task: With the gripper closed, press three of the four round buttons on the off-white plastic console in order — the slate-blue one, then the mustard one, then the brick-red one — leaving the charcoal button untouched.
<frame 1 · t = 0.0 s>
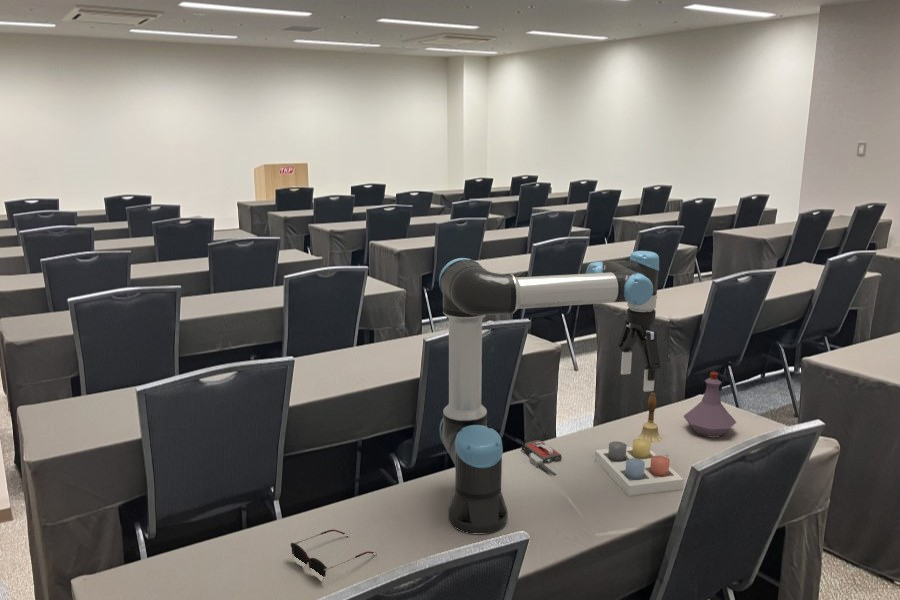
hand: (636, 382, 210), 28 cm above the table, fingers open, 13 cm apart
hand bell: (649, 441, 239), on the table
button brick: (659, 466, 210), point 6 cm above the table, slide at 0.0 cm
console: (636, 477, 215), on the table
walkie-talkie: (545, 463, 225), on the table
button charcoal: (617, 451, 218), point 6 cm above the table, slide at 0.0 cm
button slate: (634, 469, 208), point 6 cm above the table, slide at 0.0 cm
flask: (708, 431, 245), on the table
sunglasses: (336, 560, 177), on the table
button mustard: (641, 448, 220), point 6 cm above the table, slide at 0.0 cm
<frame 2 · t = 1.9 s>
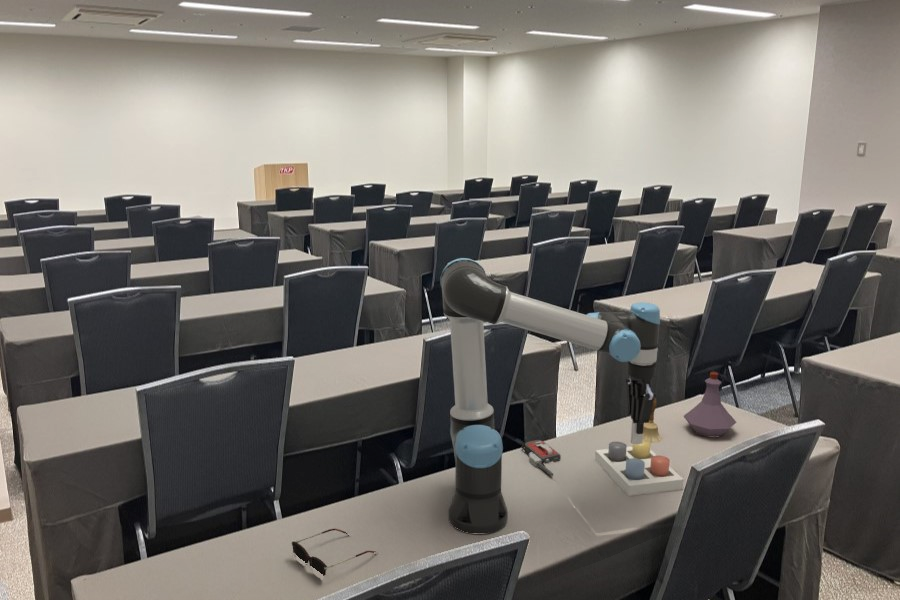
hand: (636, 442, 206), 13 cm above the table, fingers closed
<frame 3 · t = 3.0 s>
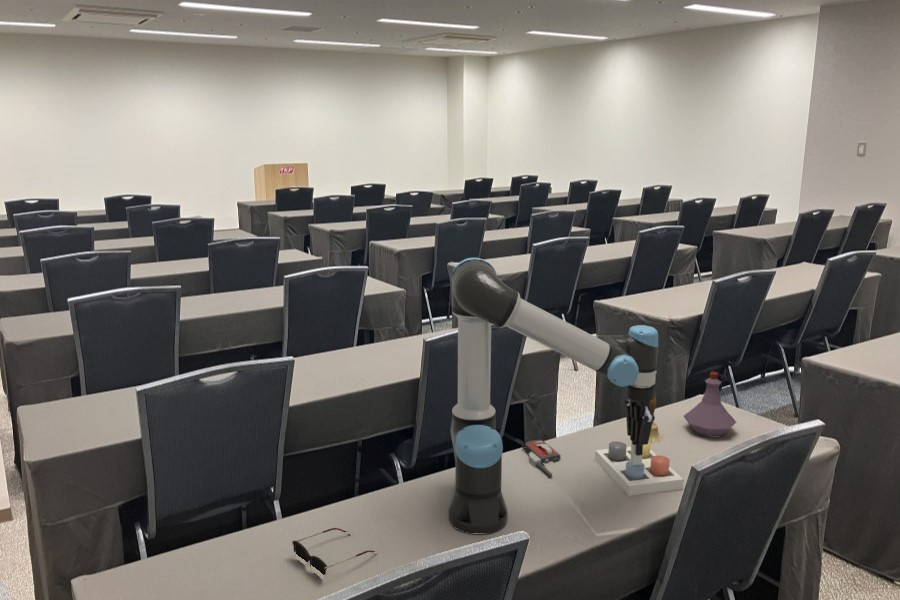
hand: (635, 463, 208), 7 cm above the table, fingers closed
button slate: (634, 471, 208), point 5 cm above the table, slide at 0.7 cm, touching gripper
everything else where it was.
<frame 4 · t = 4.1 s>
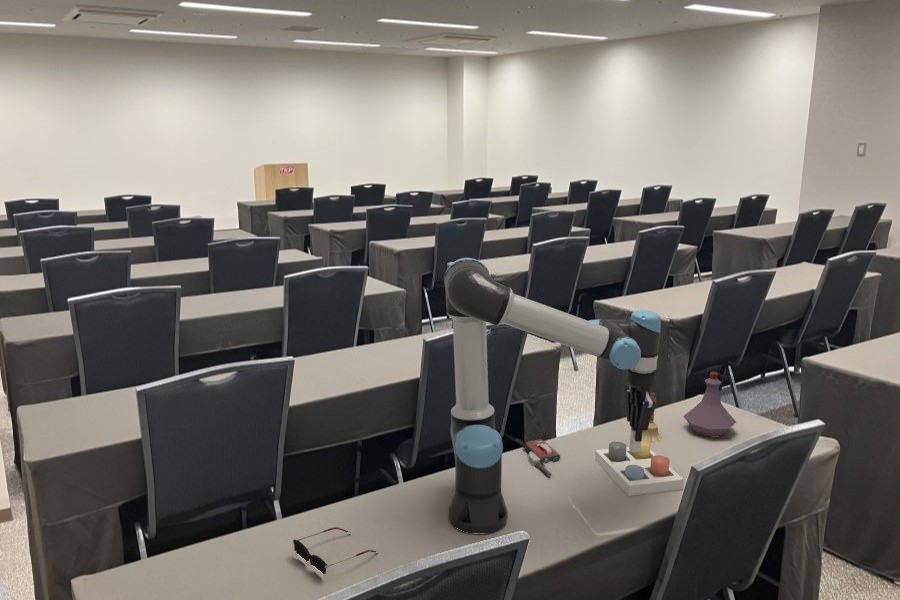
hand: (634, 450, 207), 11 cm above the table, fingers closed
button slate: (634, 475, 208), point 4 cm above the table, slide at 2.0 cm
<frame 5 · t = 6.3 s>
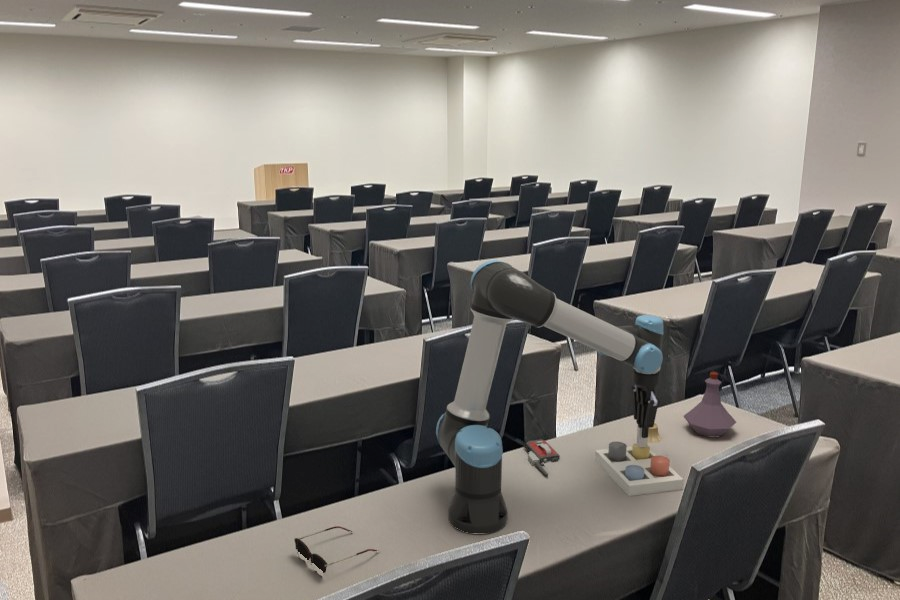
hand: (641, 446, 220), 7 cm above the table, fingers closed
button mustard: (640, 453, 220), point 4 cm above the table, slide at 1.4 cm, touching gripper
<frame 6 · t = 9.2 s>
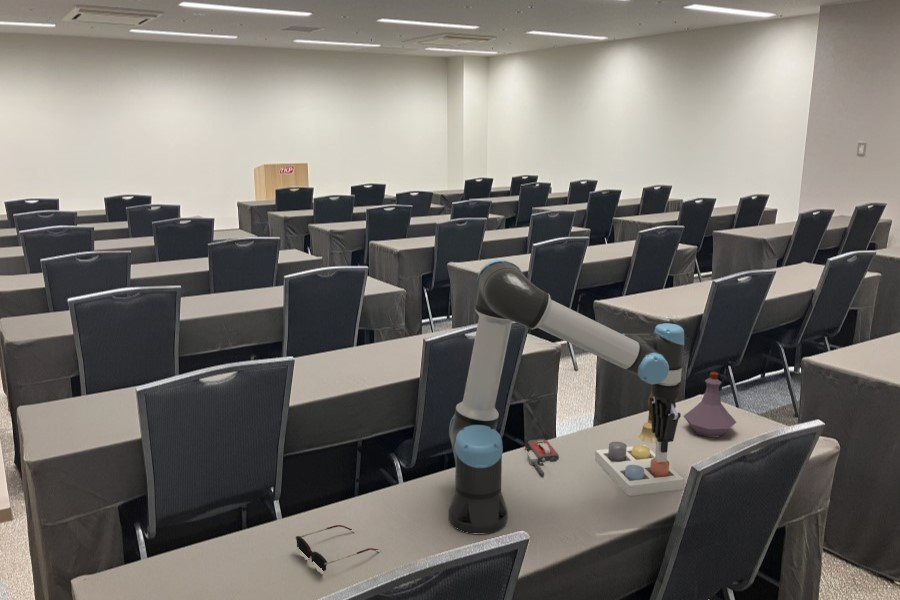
hand: (660, 461, 209), 7 cm above the table, fingers closed
button brick: (659, 468, 210), point 5 cm above the table, slide at 0.7 cm, touching gripper
button mustard: (640, 455, 221), point 4 cm above the table, slide at 2.0 cm
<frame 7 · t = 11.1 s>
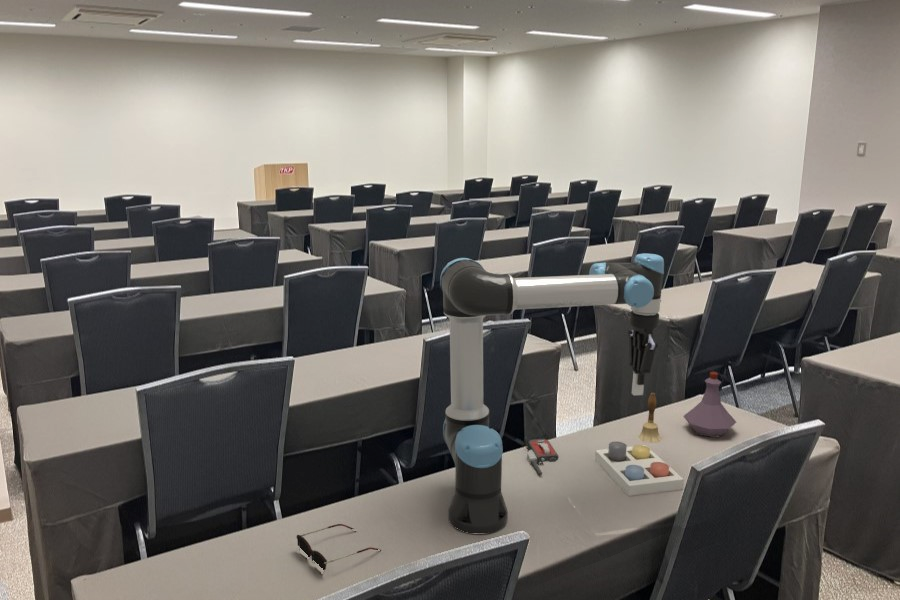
hand: (637, 394, 208), 25 cm above the table, fingers closed
button brick: (659, 472, 210), point 4 cm above the table, slide at 2.0 cm
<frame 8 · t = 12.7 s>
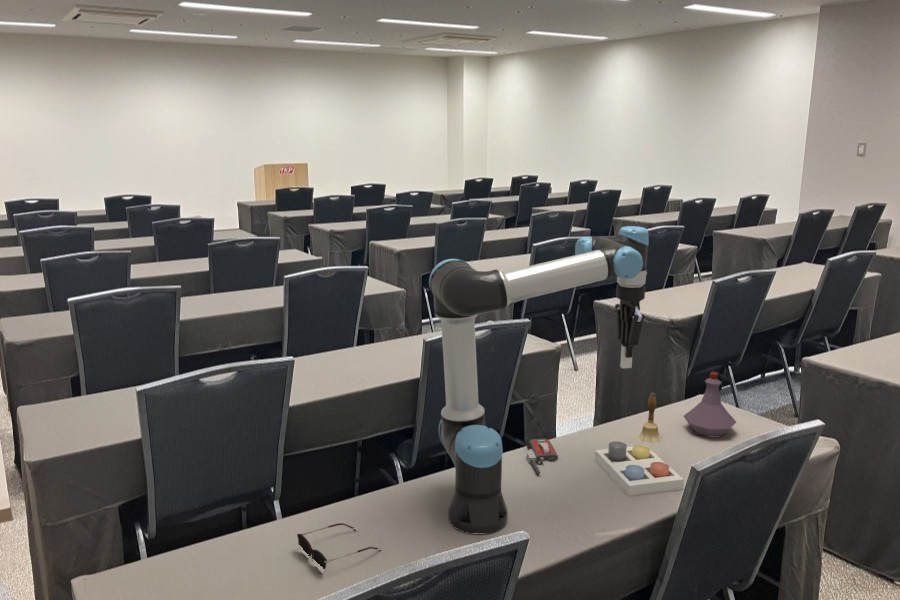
hand: (625, 367, 209), 32 cm above the table, fingers closed
at the end: button slate slide at 2.0 cm; button mustard slide at 2.0 cm; button brick slide at 2.0 cm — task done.
